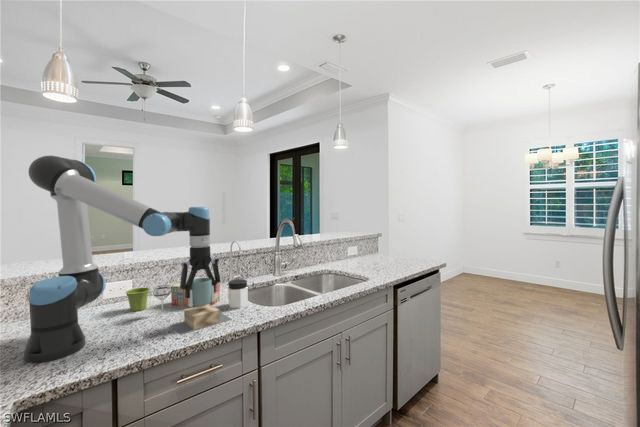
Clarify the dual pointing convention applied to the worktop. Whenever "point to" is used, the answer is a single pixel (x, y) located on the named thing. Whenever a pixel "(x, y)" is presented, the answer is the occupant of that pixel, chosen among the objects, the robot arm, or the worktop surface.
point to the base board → (184, 328)
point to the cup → (201, 291)
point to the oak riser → (201, 316)
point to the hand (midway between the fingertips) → (201, 303)
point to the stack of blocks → (180, 298)
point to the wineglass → (161, 294)
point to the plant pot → (137, 298)
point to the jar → (238, 293)
